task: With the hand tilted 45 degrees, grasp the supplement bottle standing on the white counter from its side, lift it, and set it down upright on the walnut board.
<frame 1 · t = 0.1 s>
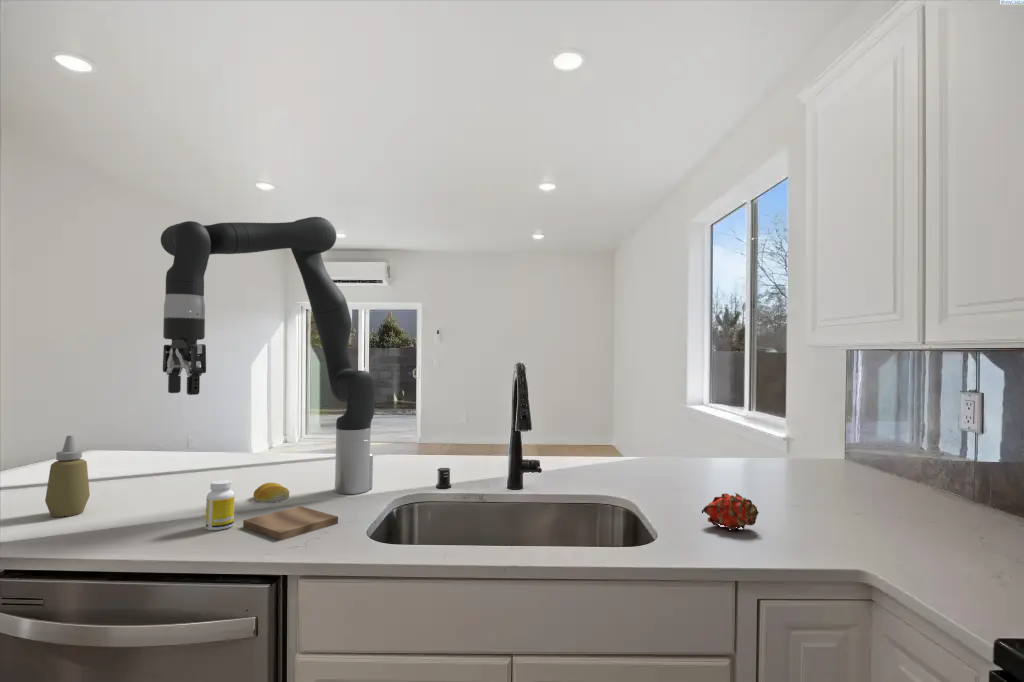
hand: (183, 393, 116), 29 cm above the worktop, tool pointing down, fingers open, 8 cm apart
walnut board: (291, 525, 121), on the worktop
squeeze bottle: (67, 514, 127), on the worktop
bread roll: (271, 500, 143), on the worktop
dragon fruit: (729, 529, 123), on the worktop
supplement bottle: (219, 528, 119), on the worktop
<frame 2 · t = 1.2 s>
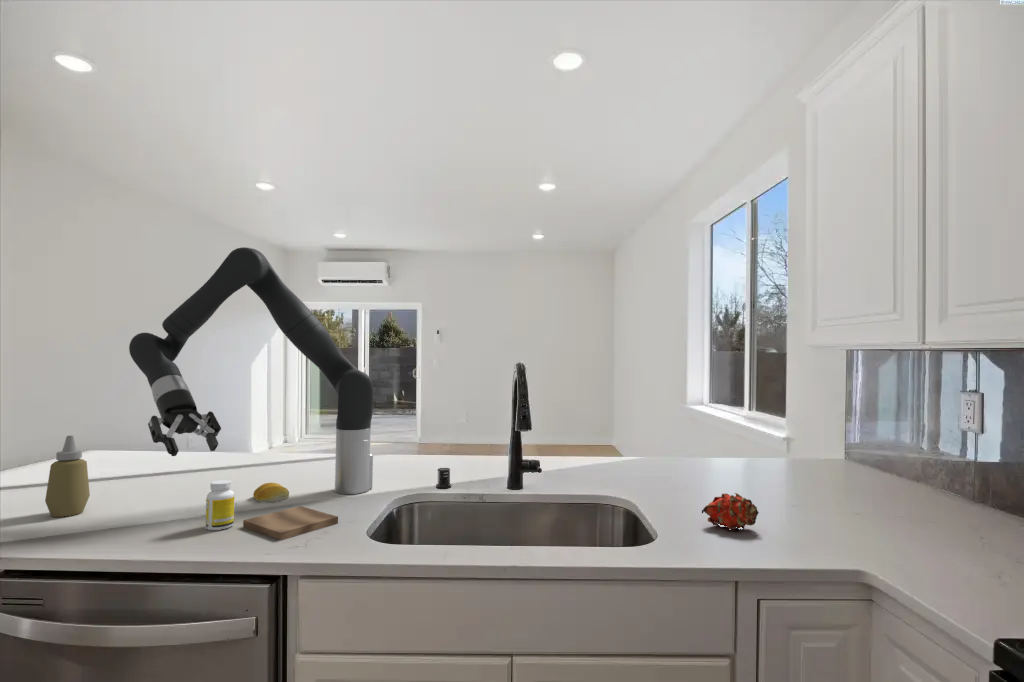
hand: (195, 451, 126), 15 cm above the worktop, tool tilted 45°, fingers open, 8 cm apart
nothing on the worktop moved.
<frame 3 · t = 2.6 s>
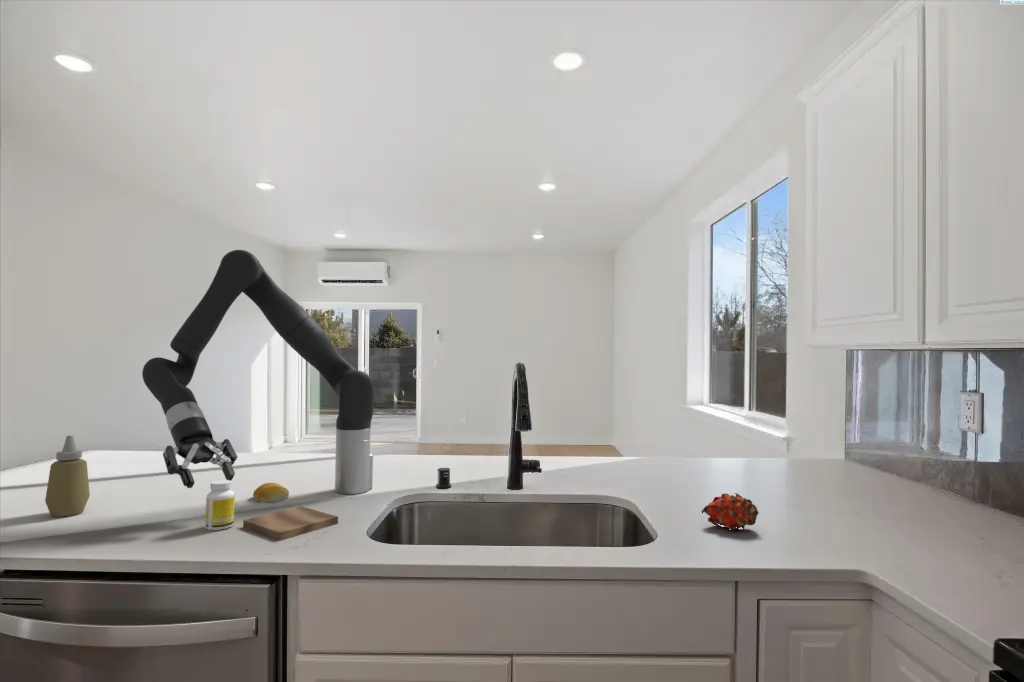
hand: (211, 482, 122), 9 cm above the worktop, tool tilted 45°, fingers open, 8 cm apart
nothing on the worktop moved.
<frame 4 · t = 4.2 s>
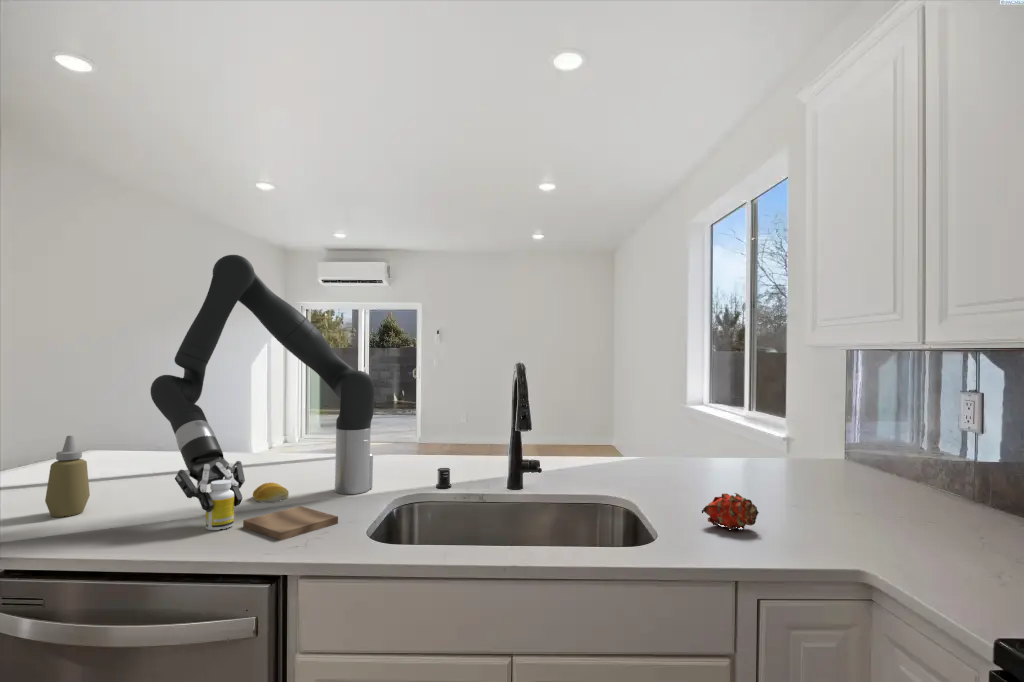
hand: (224, 506, 118), 5 cm above the worktop, tool tilted 45°, fingers closed on supplement bottle, 5 cm apart
supplement bottle: (219, 528, 119), on the worktop, touching gripper
everything else where it was.
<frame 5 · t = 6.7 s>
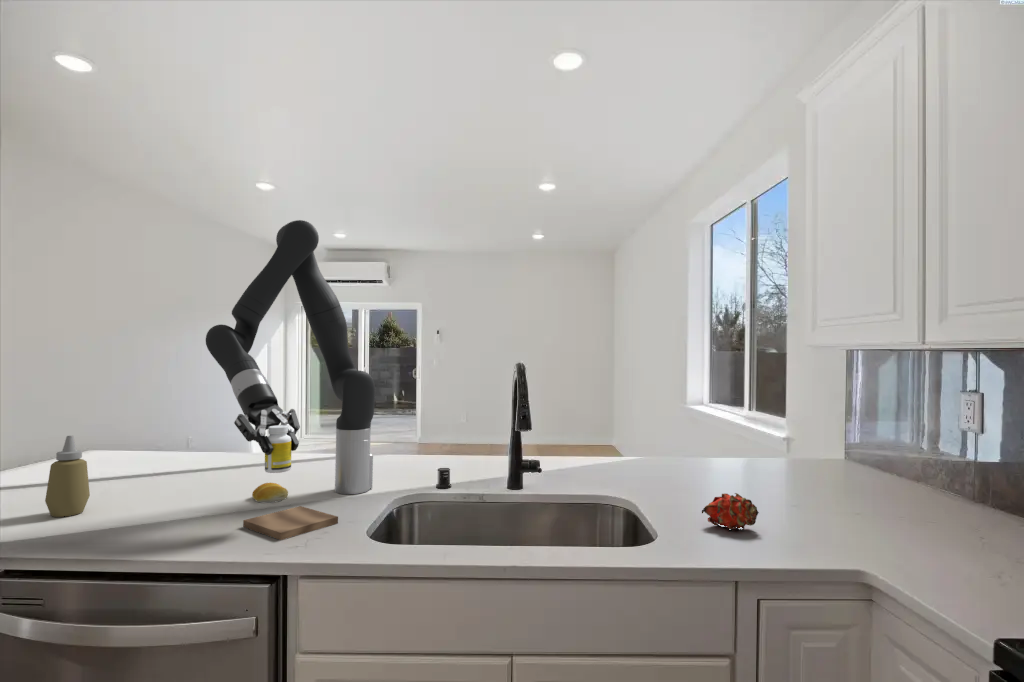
hand: (283, 450, 121), 17 cm above the worktop, tool tilted 45°, fingers closed on supplement bottle, 5 cm apart
supplement bottle: (278, 471, 122), point 12 cm above the worktop, touching gripper
everything else where it was.
when the fingers open (6 cm above the worktop, at t = 9.5 s): supplement bottle stays where it is, resting on walnut board.
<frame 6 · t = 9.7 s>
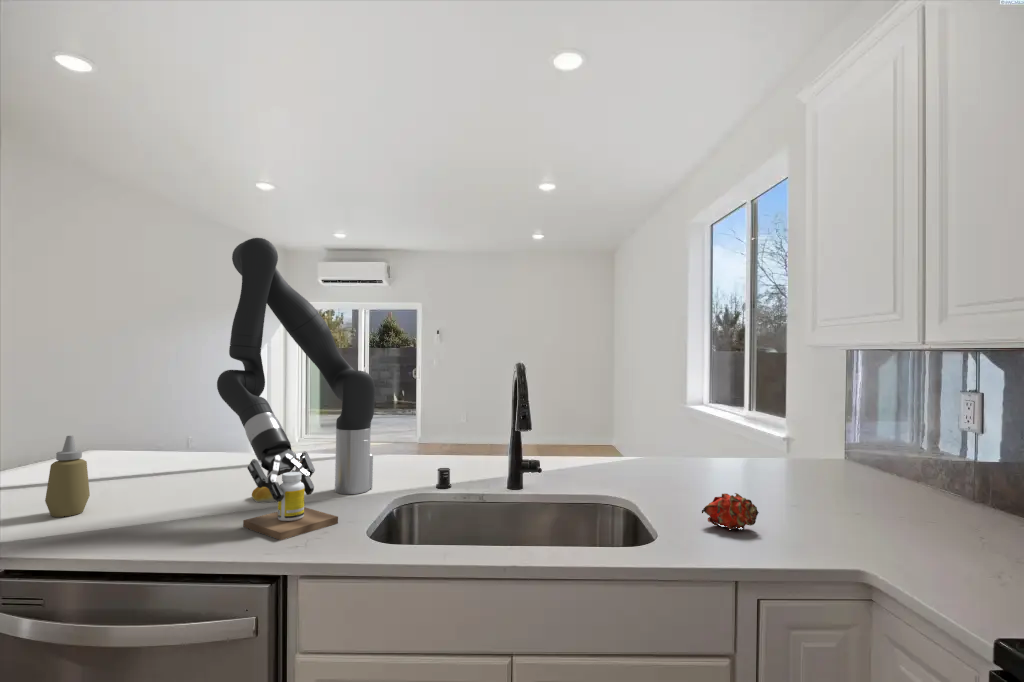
hand: (296, 495, 121), 7 cm above the worktop, tool tilted 45°, fingers open, 6 cm apart
supplement bottle: (290, 519, 121), point 1 cm above the worktop, touching walnut board
everything else where it was.
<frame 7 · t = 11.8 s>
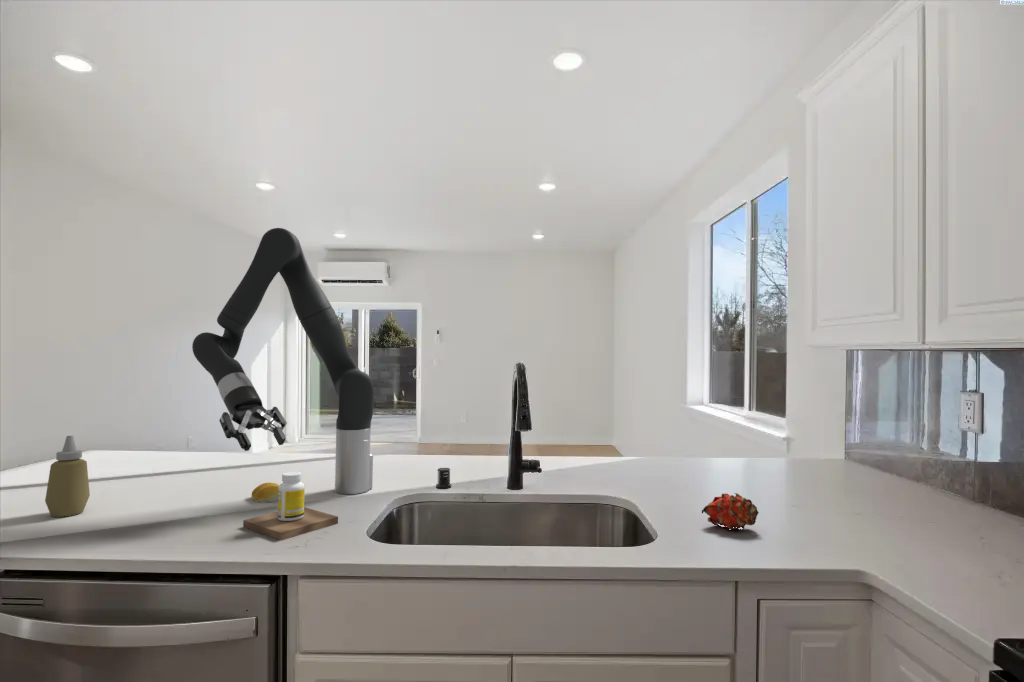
hand: (266, 445, 130), 16 cm above the worktop, tool tilted 45°, fingers open, 8 cm apart
nothing on the worktop moved.
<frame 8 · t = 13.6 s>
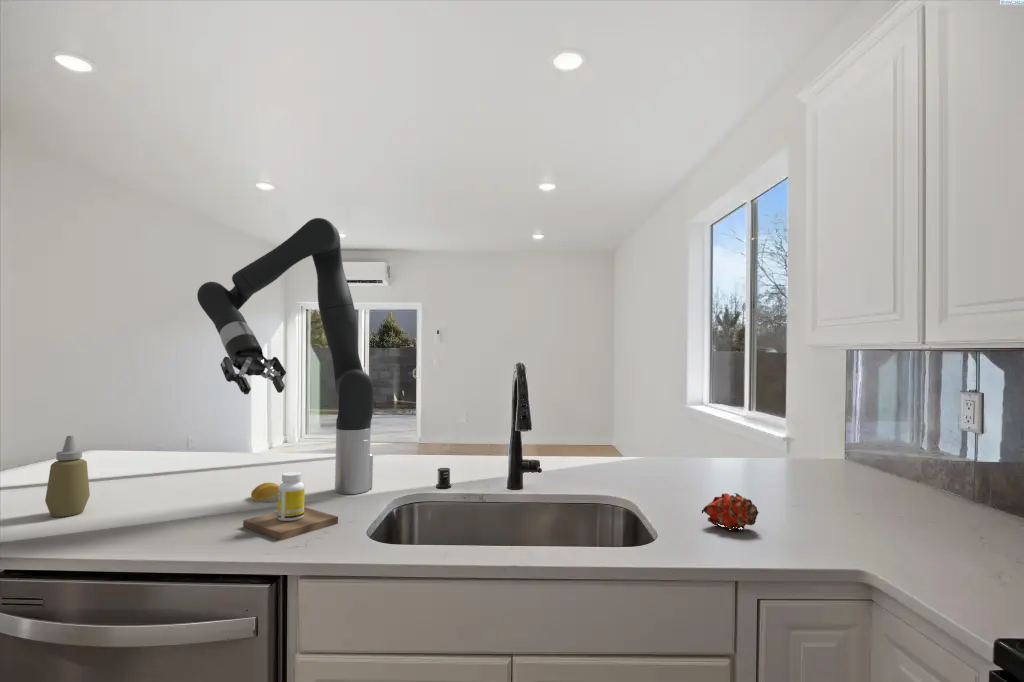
hand: (265, 391, 132), 29 cm above the worktop, tool tilted 45°, fingers open, 8 cm apart
nothing on the worktop moved.
at the end: supplement bottle inside the target area on the walnut board (0.2 cm from its centre), point 1.3 cm above the walnut board's base; supplement bottle tilted 0°; the gripper is holding nothing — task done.
